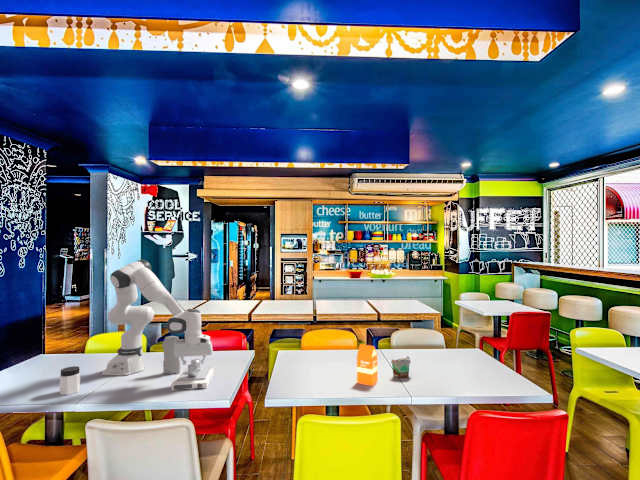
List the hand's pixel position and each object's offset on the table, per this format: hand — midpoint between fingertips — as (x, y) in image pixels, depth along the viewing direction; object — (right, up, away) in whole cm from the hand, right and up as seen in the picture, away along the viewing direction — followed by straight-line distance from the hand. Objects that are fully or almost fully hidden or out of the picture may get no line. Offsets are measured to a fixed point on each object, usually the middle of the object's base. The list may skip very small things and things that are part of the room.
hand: (193, 363), depth 198 cm
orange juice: (+96, -10, -1) cm, 96 cm away
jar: (-60, -11, -11) cm, 62 cm away
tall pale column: (-18, -11, +15) cm, 26 cm away
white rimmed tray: (0, -10, +1) cm, 11 cm away
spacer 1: (-1, -6, +7) cm, 9 cm away
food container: (+117, -10, +5) cm, 118 cm away
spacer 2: (0, -6, -1) cm, 6 cm away
